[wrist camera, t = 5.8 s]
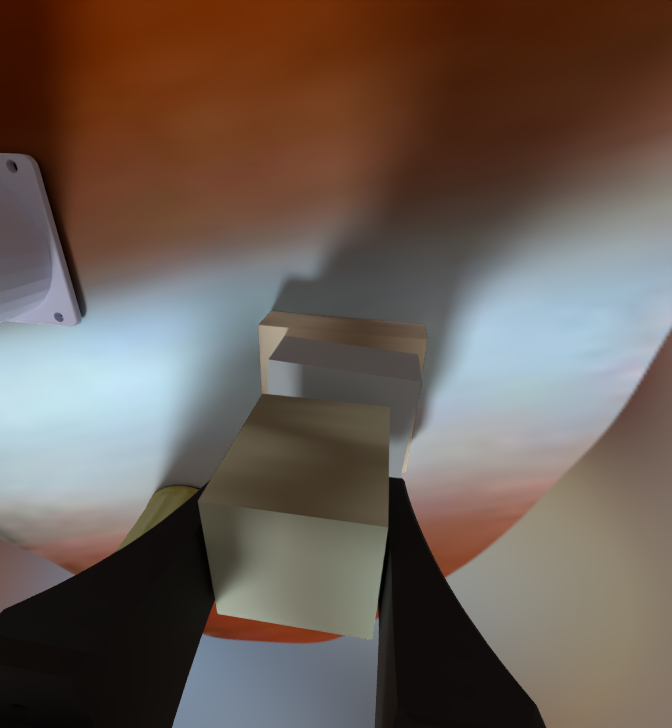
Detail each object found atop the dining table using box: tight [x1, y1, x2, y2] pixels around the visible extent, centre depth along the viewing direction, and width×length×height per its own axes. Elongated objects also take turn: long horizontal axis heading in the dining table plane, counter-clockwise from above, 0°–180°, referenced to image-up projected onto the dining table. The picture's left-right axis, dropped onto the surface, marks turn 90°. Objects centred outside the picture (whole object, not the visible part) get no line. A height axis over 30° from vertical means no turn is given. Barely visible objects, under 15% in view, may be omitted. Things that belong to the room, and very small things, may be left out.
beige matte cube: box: [198, 394, 390, 640], centre depth 12 cm, size 4×4×5 cm
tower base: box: [258, 311, 428, 473], centre depth 19 cm, size 8×8×2 cm
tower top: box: [268, 336, 422, 478], centre depth 17 cm, size 6×6×2 cm
